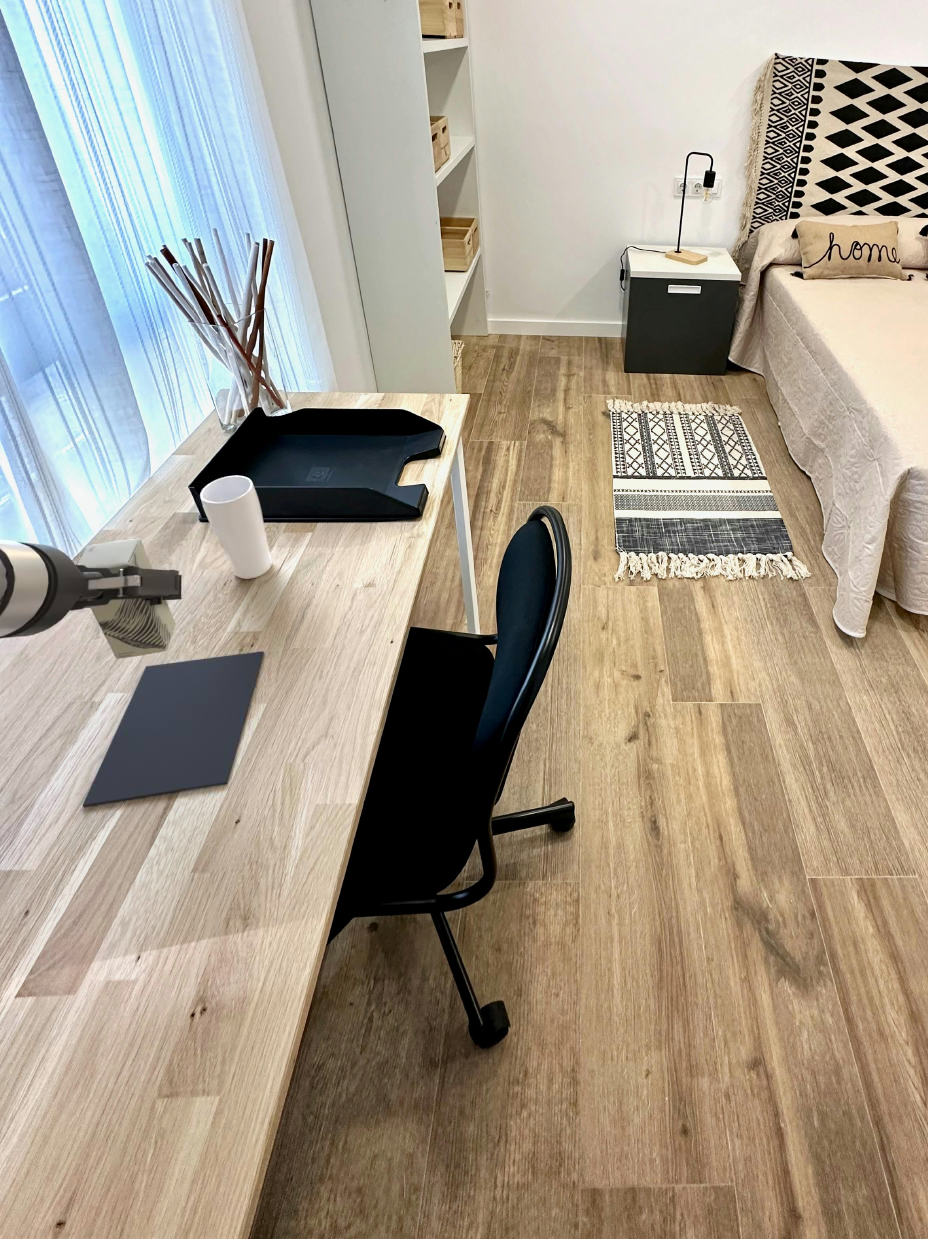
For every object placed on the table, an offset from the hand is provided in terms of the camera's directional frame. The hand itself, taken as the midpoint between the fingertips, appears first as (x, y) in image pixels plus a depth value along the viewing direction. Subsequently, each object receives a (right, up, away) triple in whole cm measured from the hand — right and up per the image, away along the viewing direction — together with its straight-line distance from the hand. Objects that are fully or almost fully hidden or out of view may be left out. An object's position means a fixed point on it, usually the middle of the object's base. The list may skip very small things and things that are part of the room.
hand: (148, 590), depth 74 cm
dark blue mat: (+2, -16, +4) cm, 17 cm away
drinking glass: (-2, -3, +26) cm, 26 cm away
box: (+1, -6, -1) cm, 6 cm away
